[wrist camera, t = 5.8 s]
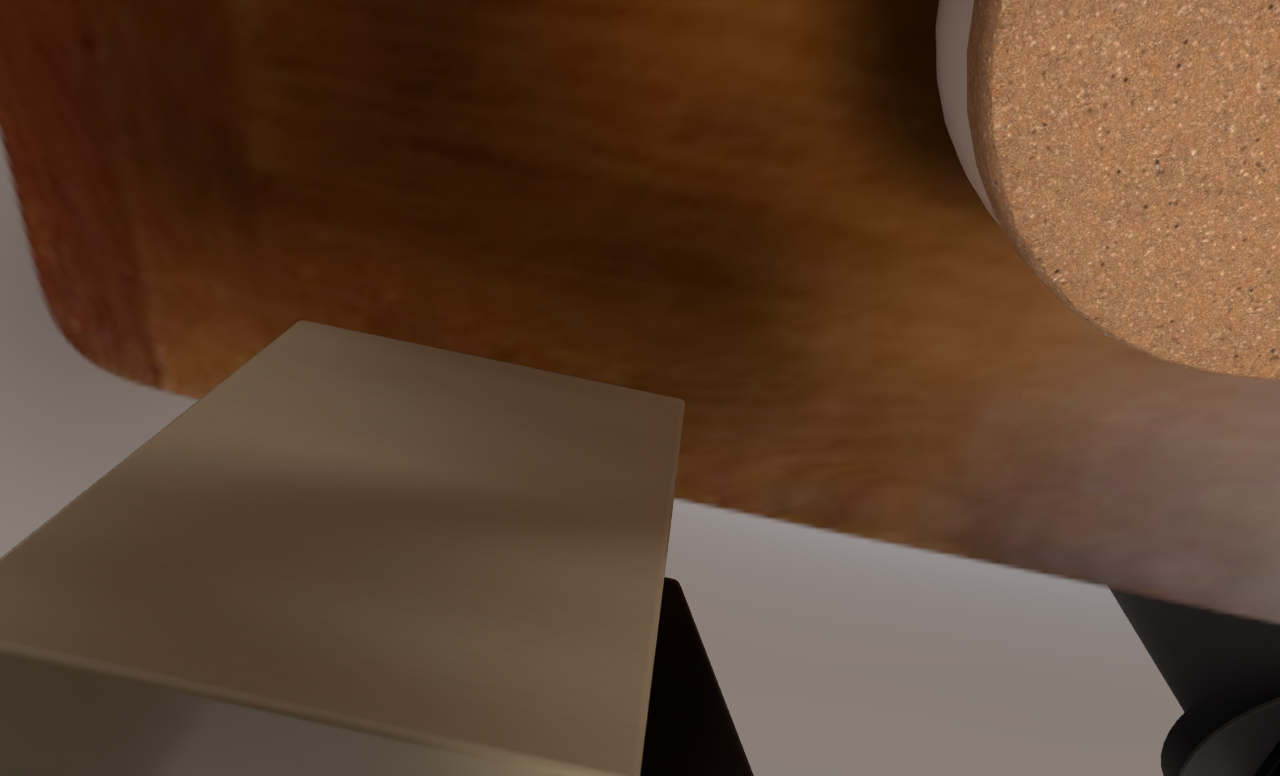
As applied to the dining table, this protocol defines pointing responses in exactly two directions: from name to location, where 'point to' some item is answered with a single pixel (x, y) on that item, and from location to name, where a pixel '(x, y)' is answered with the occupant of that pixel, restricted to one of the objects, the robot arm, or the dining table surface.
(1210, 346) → the trinket box
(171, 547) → the block
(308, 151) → the dining table surface
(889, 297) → the dining table surface
